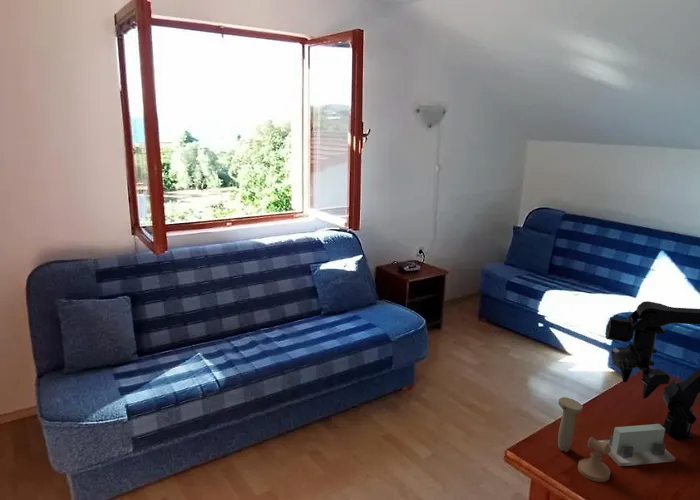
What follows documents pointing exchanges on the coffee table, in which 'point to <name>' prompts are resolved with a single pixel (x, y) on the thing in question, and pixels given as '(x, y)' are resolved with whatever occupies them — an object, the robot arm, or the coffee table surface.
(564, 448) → the handle
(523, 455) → the coffee table surface
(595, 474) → the door knob
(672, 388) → the robot arm
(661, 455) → the cabinet panel
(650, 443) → the cabinet door
